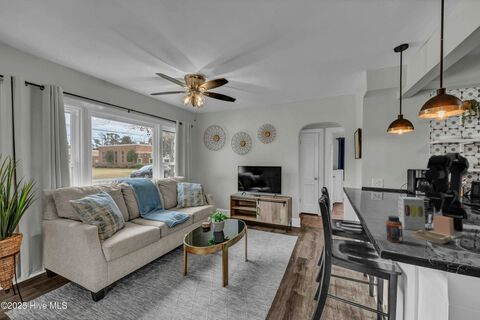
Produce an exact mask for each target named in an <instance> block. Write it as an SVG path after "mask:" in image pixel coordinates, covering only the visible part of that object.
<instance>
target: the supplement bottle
mask: <svg viewBox="0 0 480 320" xmlns="http://www.w3.org/2000/svg"><path fill="white" fill-rule="evenodd" d="M385 222H386V223H385V225H386V226H385V230H386V239H387V240H388V241H389V242H391V243H396V244H397V243H398V244H400V243H403V242H404V236H403V228H402V223H401V222H400V221H399V215H398V216H397V215H388V216H387V220H386V221H385Z"/></svg>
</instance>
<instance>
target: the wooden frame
mask: <svg viewBox="0 0 480 320" xmlns="http://www.w3.org/2000/svg"><path fill="white" fill-rule="evenodd" d="M429 231H430V230H425V231H424V230H414V231H412V232H411V237H412V238H417V239H418V240H419V239H420V240H423V241H428V242H432V243H436V244H440V245H443V244H446V243H448V242H451V241H452V239H451V236H447V235H443V234H438V233H433V232H429Z"/></svg>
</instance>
